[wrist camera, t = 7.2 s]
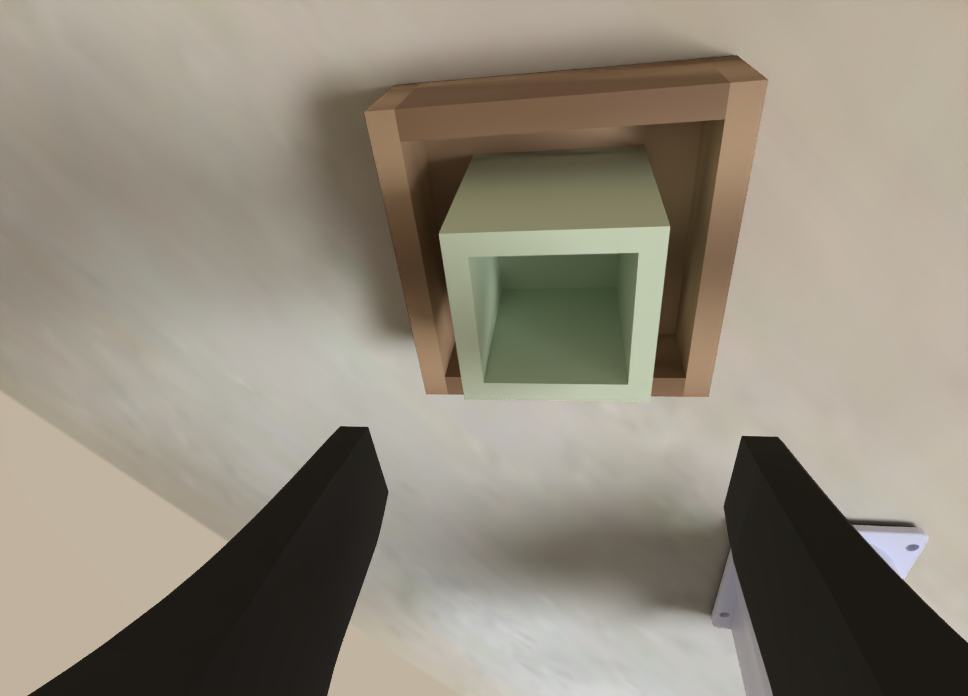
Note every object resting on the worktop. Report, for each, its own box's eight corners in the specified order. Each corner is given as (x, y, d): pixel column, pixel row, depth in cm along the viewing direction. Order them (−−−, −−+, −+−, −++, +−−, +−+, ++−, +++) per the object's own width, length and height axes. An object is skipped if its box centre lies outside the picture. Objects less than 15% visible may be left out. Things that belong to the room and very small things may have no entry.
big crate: (692, 342, 20) (708, 396, 18) (442, 344, 22) (426, 394, 20) (736, 55, 15) (768, 79, 12) (394, 85, 16) (363, 111, 14)
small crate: (632, 293, 19) (650, 402, 15) (488, 295, 20) (464, 399, 15) (643, 144, 16) (670, 226, 12) (473, 154, 17) (438, 234, 12)
